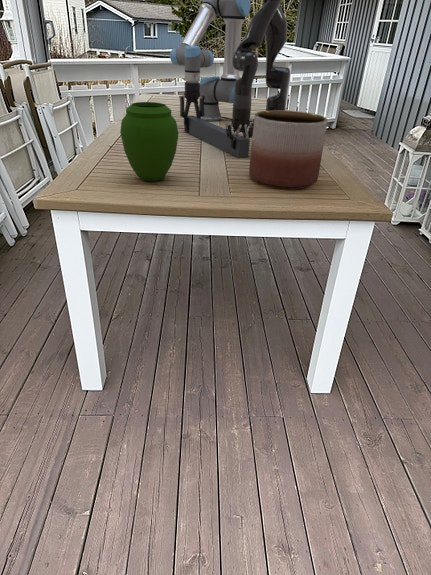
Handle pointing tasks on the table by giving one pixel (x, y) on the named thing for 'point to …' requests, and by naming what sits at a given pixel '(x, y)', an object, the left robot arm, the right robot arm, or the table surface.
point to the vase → (149, 139)
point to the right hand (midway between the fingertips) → (239, 148)
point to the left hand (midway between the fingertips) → (191, 131)
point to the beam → (218, 137)
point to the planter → (287, 148)
